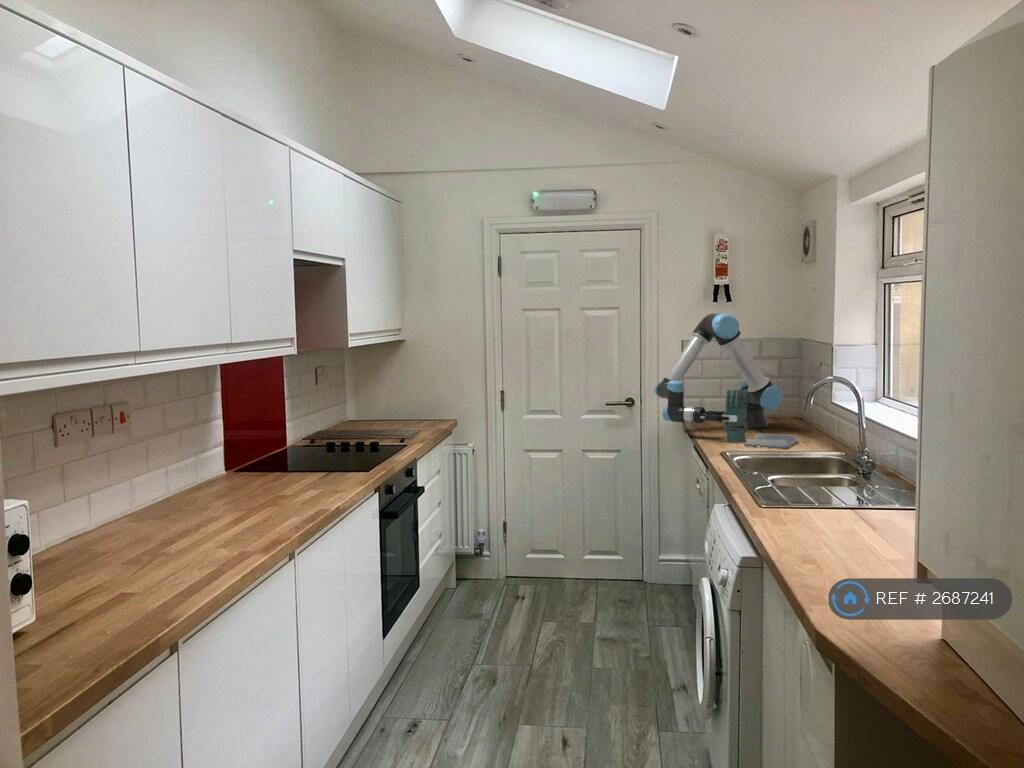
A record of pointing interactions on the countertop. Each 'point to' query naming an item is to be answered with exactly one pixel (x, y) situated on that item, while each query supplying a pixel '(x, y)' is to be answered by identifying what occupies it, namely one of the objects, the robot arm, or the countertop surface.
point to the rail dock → (772, 440)
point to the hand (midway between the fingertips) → (741, 417)
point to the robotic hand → (736, 414)
